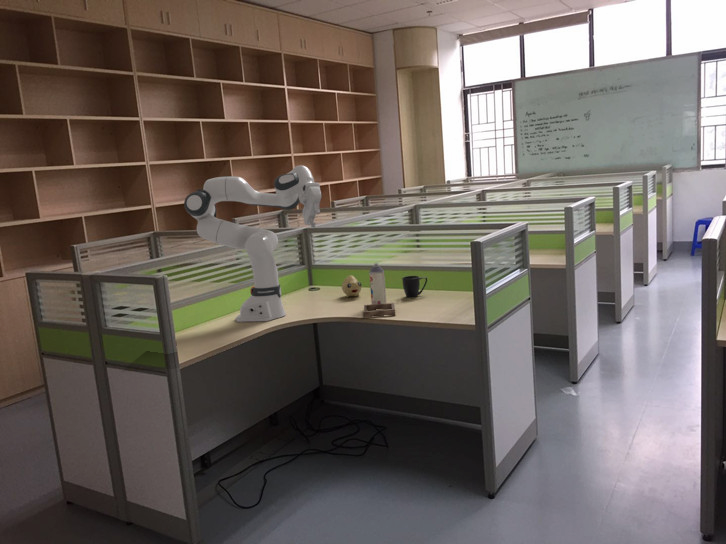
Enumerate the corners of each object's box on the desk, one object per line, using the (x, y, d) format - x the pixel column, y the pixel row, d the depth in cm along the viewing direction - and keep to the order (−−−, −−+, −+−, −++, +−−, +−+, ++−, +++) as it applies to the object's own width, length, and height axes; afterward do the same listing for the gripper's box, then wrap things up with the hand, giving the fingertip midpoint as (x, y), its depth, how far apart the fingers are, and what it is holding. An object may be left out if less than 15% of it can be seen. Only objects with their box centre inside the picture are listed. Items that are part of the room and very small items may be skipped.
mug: (429, 296, 294) (428, 277, 293) (404, 299, 294) (403, 279, 292) (426, 293, 302) (425, 274, 301) (402, 295, 302) (401, 276, 300)
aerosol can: (371, 305, 286) (368, 262, 283) (386, 304, 286) (383, 261, 283) (371, 308, 280) (368, 265, 276) (386, 307, 279) (383, 264, 276)
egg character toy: (346, 300, 302) (344, 278, 300) (340, 295, 313) (338, 275, 311) (365, 297, 304) (363, 276, 303) (359, 293, 316) (357, 272, 314)
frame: (364, 317, 264) (363, 311, 263) (364, 310, 277) (364, 305, 276) (395, 315, 263) (395, 309, 263) (394, 308, 276) (393, 302, 276)
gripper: (297, 211, 281) (304, 235, 274) (306, 180, 265) (313, 205, 258) (310, 210, 283) (317, 234, 276) (320, 180, 267) (327, 204, 260)
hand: (315, 220), depth 267 cm, fingers open, 8 cm apart
